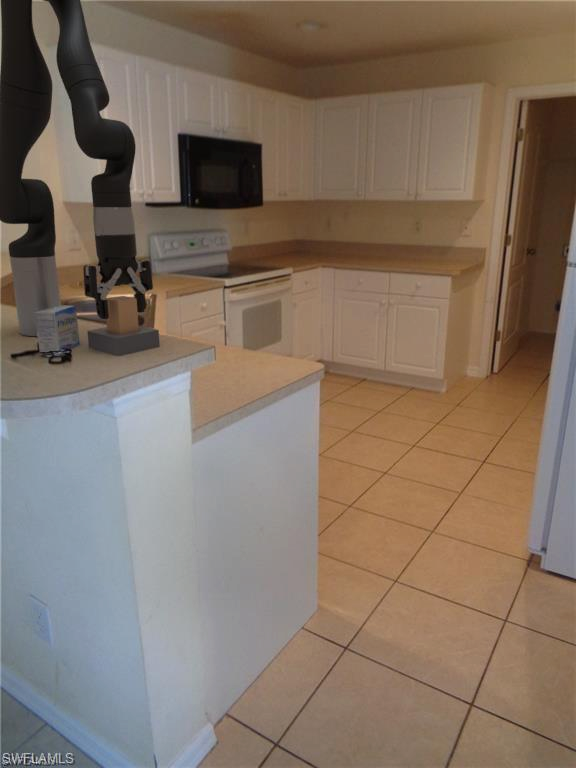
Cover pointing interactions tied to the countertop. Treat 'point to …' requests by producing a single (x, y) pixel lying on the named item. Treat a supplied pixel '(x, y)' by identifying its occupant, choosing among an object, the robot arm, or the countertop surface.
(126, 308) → the plug
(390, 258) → the countertop surface
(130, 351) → the gray square socket block
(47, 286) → the robot arm
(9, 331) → the countertop surface
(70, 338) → the medicine box
